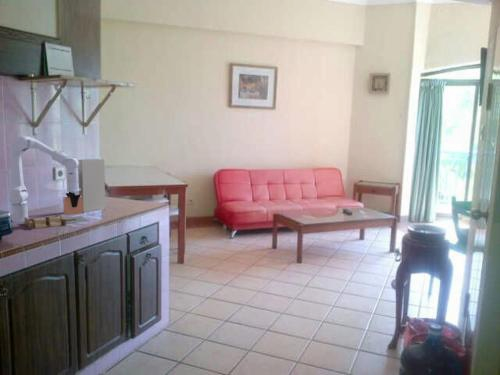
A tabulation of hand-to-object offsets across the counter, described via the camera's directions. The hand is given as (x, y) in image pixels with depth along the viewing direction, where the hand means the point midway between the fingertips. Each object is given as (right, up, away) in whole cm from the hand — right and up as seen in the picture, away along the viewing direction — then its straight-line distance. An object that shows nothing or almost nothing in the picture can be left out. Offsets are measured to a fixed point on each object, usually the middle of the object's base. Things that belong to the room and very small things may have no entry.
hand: (73, 206), depth 239 cm
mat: (0, -7, +1) cm, 8 cm away
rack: (-10, -9, -11) cm, 17 cm away
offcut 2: (-4, -9, -12) cm, 16 cm away
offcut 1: (-10, -9, -16) cm, 21 cm away
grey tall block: (0, -4, +29) cm, 29 cm away
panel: (0, -4, +1) cm, 4 cm away
